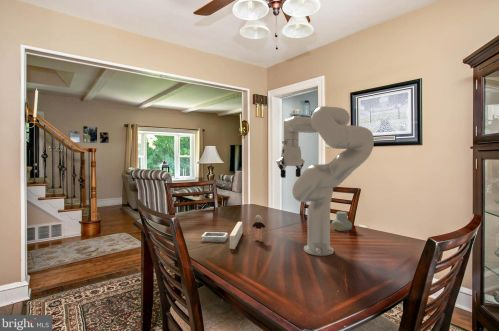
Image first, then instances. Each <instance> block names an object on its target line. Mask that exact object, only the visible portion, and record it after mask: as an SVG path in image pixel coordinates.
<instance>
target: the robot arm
mask: <svg viewBox="0 0 499 331" xmlns="http://www.w3.org/2000/svg"><path fill="white" fill-rule="evenodd" d="M350 118H351V117H350V114H349V112H348V111H347V110H346V109H345V108H343V107H337V106H328V105H326V106H325V105H324V106H323V105H322V106H319V107H317V108H316V109H315V110H314V111H313V113H312V115H311V117H310V116H292V117H290V118H285V119H284V121H283V140H282V141H281V144H283V146H282V148H281V154H280V158H279V159H278V160H276V164H277V168H279V170H280V178H282V179H285V178H286V173H287V172H286V171H287V170H286V168H287V167H295V168H296V169H295V177H296V178H297V179H296V181H295V182H294V184H293V186H292V190H291V191H292V196H293V199H295V201H297V202H300V203H309V202H310V204H309V205H308V207H307V244H306V245H304V246H303V251H304V252H306V254H308V255H312V256H317V257H318V256H319V257H326V256H331V255H332V254H334V251H335V250H334V248H333V247H332V246H331V205H332V204H331V203H332V199H333V193H334V192H333V191H334V188H336V187H338V186H340V185H341V184H342V183H343V182H344V181H345V180H346V179H347V178H348V177H349V176H351V174H352V173H353V172H354V171H355V170H357V169H358V168H359V167H361V166H362V165H363V164H364V163H365V162H366V161H367V160H368V158H369V157H370V156H371V154H372V152H373V149H374V144H375V141H374V140H375V139H374V134H373V132H372V131H371V130H370V129H369V128H367V127H364V126H361V125H350V124H349V122H350ZM348 124H349V125H348ZM300 133H302V134H303V133H304V134H305V133H306V134H311V133H312V134H313V133H318V135H320V137H321V139H322V140H323V141H324V142H325V144H326V145H327V146H328V147H329V148H332V149H337V150H343V151H341V152H340V153H338V154H337V155H336V156H335V157H334V158H333V159H332V160H331V161H330V162H329V163H323V164H322V163H320V164H312V165H310V166H308V167H306V168H305V169H304V171H303V172H302V169H303V166H304V165H305V159H303V158H302V150H301V146H299V145H300V144H299V140H300V138H299V136H300V135H299V134H300Z"/></svg>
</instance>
